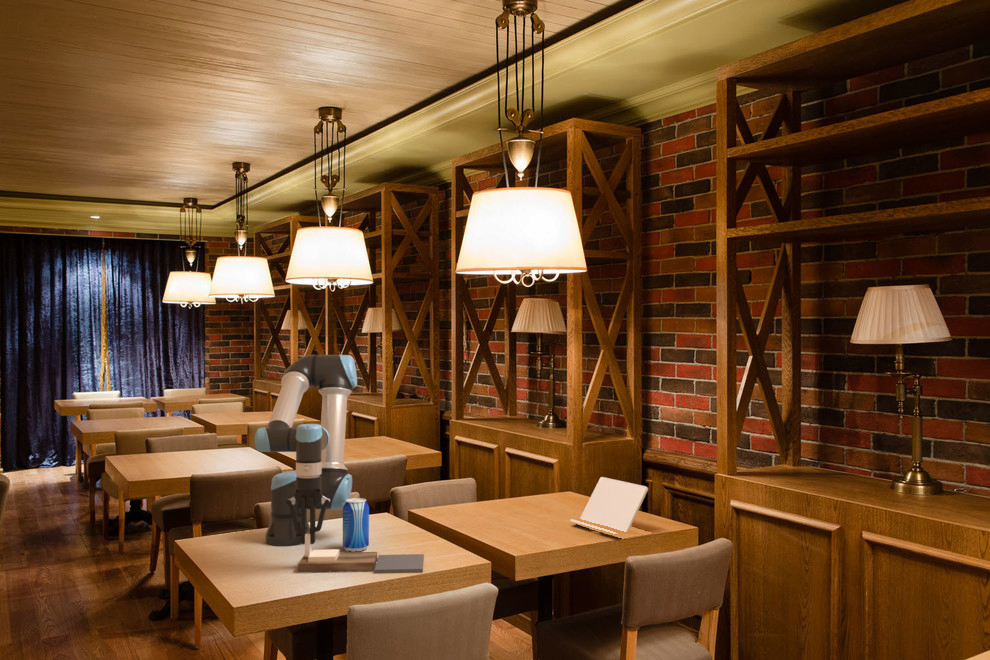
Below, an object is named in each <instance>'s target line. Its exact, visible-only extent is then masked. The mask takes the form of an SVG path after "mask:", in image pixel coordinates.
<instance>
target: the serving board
mask: <svg viewBox="0 0 990 660" xmlns="http://www.w3.org/2000/svg"><path fill="white" fill-rule="evenodd" d="M303 554H304V555H303V556H302V557H301V559H300V561H299V562H298V563H297V573H298V572H311V573H340V572H339V571H362V572H374V570H375V566H376V562H377V559H378V551H361V552H348V551H345V552H344V551H343V552H341V551H339V556H338V558H337V560H336V562H308V556H305V553H303ZM329 571H331V572H329ZM337 571H338V572H337Z"/></svg>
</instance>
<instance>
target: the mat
mask: <svg viewBox="0 0 990 660" xmlns="http://www.w3.org/2000/svg"><path fill="white" fill-rule="evenodd" d="M424 557H425V554H423V553H417V554H416V553H414V554H413V553H412V554H410V553H409V554H404V553H403V554H378V555H377V563H376V566H375V569H374V571H373V572H374V574H398V573H399V574H401V573H402V574H405V573H407V574H408V573H409V574H411V573H423V572H424V571H423V570H424V560H425V559H424Z"/></svg>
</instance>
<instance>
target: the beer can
mask: <svg viewBox="0 0 990 660" xmlns="http://www.w3.org/2000/svg"><path fill="white" fill-rule="evenodd" d="M369 545H370V506H369V504H368V502H367V499H366V498H361V497H353V498H350V499H347V500H346V503H345V505H344V506H343V509H342V547H343V549H344V550H346V551H345V552H348V551H351V552H355V551H361V552H363V551H362V550H365V551H366V550H367V548H369Z"/></svg>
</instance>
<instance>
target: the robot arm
mask: <svg viewBox="0 0 990 660" xmlns="http://www.w3.org/2000/svg"><path fill="white" fill-rule="evenodd" d="M280 385H281V388H280V392H279V393H278V396H277V399H276V402H275V405H274V407H273V410H272V413H271V415H270V417H269V420H268V422H267V426H266V427H265V426H264V427H259V428H257V429H256V432H255V434H254V445H255V446H254V447H255V449H256V450H257V452H263V453H265V452H266V453H295V469H294V470H288V471H284V472H280V473H277V474H275V475H273V477H272V478H271V487H270V498H271V499H270V521H269V524H268V527H267V531H266V533H265V543H266V544H268V545H269V546H270V545H271V546H277V547H278V546H279V547H280V546H281V547H283V546H285V547H286V546H296V545H304V554H305V556H309V555H310V554H311V552H312V545H314V544H315V542H316V533H317V532H321V530H322V527H323V523H324V519H325V514H326V511H327V510H331V511H333V510H343V506H344V505H345V503H346V500H347V499H351V494H352V490H353V475H352V474H350V473H349V469H348V468H347V467H346V465H345V463H344V462H345V446H346V427H347V426H346V425H347V409H348V407H347V406H348V398H349V396H350V395H351V394H352V393H353V392H352V391H353V389H355V388H357V385H358V377H357V367H356V363H355V359H354V358H353V356H352V355H349V354H307V355H305V356H302V357H300V358H298V359H297V360H295V361H294V362H292V363H291V364H290V365H289V366H288V367H287V368H286V370H285V371H284V372H283V374H282V377H281V381H280ZM309 388H318V393H319V394H320V395H321V396H322V397H321V398H322V399H321V400H322V401H321V402H322V403H321V415H320V419H321V420H320V424H319V423H304V424H303V423H302V424H299V425H297V426H296V427H293V425H294V421H295V419H296V416H297V413H298V410H299V407H300V404H301V402H302V399H303V396H304V393H306V392H307V391H308V389H309ZM308 510H309V521H308ZM317 510H320V512H319V517H318V520H317V522H316V511H317ZM316 523H317V525H316Z"/></svg>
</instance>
